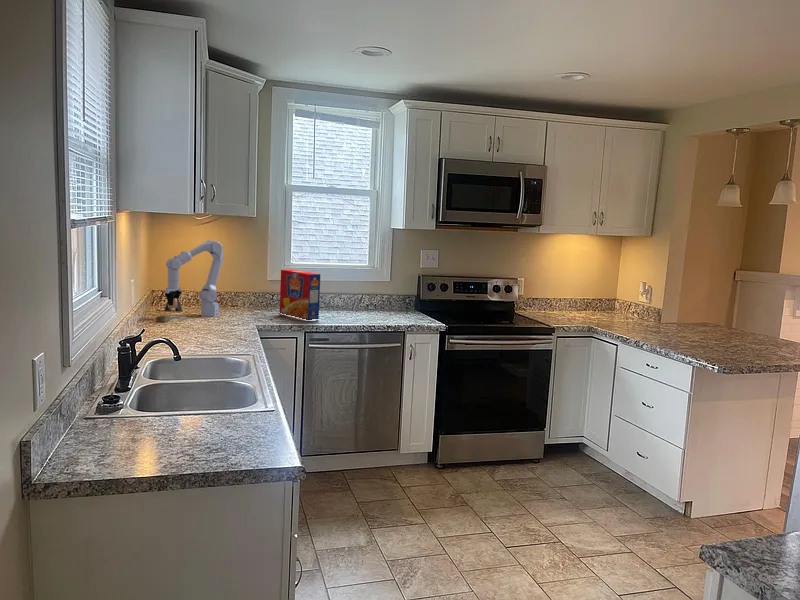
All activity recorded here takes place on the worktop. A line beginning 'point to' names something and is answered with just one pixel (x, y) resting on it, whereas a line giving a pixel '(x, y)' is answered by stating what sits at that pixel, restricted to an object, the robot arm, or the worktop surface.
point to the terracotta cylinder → (173, 304)
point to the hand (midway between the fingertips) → (173, 304)
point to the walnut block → (162, 318)
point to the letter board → (179, 318)
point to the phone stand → (175, 308)
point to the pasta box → (300, 294)
